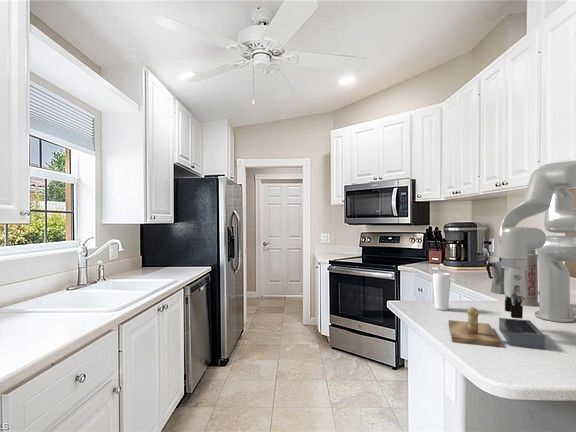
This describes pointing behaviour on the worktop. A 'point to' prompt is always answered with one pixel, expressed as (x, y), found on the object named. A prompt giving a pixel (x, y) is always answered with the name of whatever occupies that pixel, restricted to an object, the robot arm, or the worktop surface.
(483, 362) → the worktop surface
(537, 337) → the shallow gray crate
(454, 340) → the board
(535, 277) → the thermos bottle
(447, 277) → the drinking glass
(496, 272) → the coffeepot
